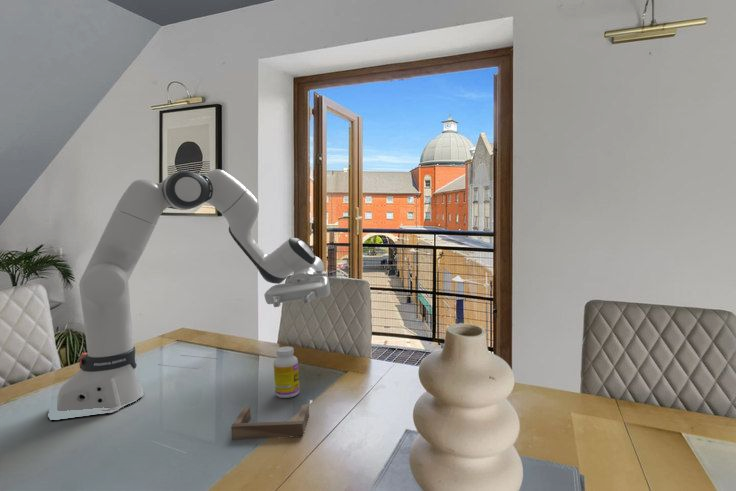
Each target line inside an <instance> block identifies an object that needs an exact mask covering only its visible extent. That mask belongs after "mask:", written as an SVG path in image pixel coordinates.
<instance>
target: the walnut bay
mask: <svg viewBox="0 0 736 491" xmlns="http://www.w3.org/2000/svg"><path fill="white" fill-rule="evenodd" d="M309 408H310V407H309V404H305V403H304V404H302V405H301V408H300V410H299V413H298V416H297V419H296V420H289V421H265V422H263V421H262V422H260V421H259V422H250V421H251V419H252V418H251V417H252V416H251V407H250V406H243V407H242V409H241V410H240V413H238V416H237V417H236V419H235V420H234V421H233V423H232V424H231V426H230V429H231V430H230V431H231V432H230V433H231V440H251V439H255V440H256V439H278V437H285V438H291V437H290V436H303V437H304V435H305V432H304V431H306V429H305V428H307V425H308V422H307V421H309V419H308V418H310V409H309ZM303 434H304V435H303Z"/></svg>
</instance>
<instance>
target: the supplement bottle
mask: <svg viewBox="0 0 736 491" xmlns="http://www.w3.org/2000/svg"><path fill="white" fill-rule="evenodd" d="M294 353H295V350H294V347H293V346H281V347H277V349H276V356H277V357H276V358H274V359H273V372H274V392H275V396H276V397H278V398H280V399H289V398H293V397H296V396H297V395H298V394H299V393H300V376H299V360H298V359H299V358H297V356H295V355H294Z"/></svg>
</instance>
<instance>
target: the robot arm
mask: <svg viewBox="0 0 736 491" xmlns="http://www.w3.org/2000/svg"><path fill="white" fill-rule="evenodd" d="M204 203H206V204H209V205H210V206H212V207H214V208H215V209H216V210H217V211H218V212H219V213H220V214H221V215H222V216H223V217H224V218H225V219H226V221H227V222H228V232H229V235H230V236H231V238H232V239H233V240H234V242H235V244H237V246H238V247H239V248H240V250H241V251H242V252H243V253H244V254H245V255H246V256H247V258H248V259H249V260H250V262H252V264H253V265H254V266H255V268H256V269H257V270H258V272H259V274H260V275H261V277H262V278H263V279H264V280H265V282H267V283H271V284H275V285H272V286H271V287H270V288H268V290H266V291H265V293H264V294H263V296H264V300H265V302H266V304H268V305H273V307H274V308H279V307H280V306H281V304H284V303H290V302H298V301H299V302H300V301H303V303H304V304H310V302H312V301H313V300H315V299H321V298H322V299H323V298H327V297H329V296H330V294H331V284H330V280H329V279H330V278H329V276H328V272H327V271H325V264H324V262H323V260H322V259H321V258H320V257H318V256H316V254H315V251H314V250H313V248H312V247H311V246H310V244H308V243H307V241H305V240H303V239H301V238H299V237H298V238H297V237H290V238H288V239H287V240H286V241H284V242H283V243H282V244H280V245H279V247H277V248H276V249H274V250H273V251H272V252H271V253H270V254H268V253H266V252H264V250H263V249H262V248H261V247H260V245H259V244H258V243H257V241H256V240H255V239H254V238H253V236H252V233H251V232H252V231H251V230H252V229H253V227H254V225H255V222H256V220H257V218H258V215H259V211H260V206H259V201H258V199H257V198H256V197H255V195H254V194H253V193H252V192H251V191H250V189H248V188H247V187H246V186H245V184H243V183H241V182H240V180H238V179H236V178H235V177H234V176H232V175H231V174H230V173H228V172H227V171H225V170H222V169H220V168H218V169H217V168H216V169H213V170H210V171H209V172H207V173H206V174H200V173H197V172H193V171H188V170H182V171H177V172H174V173H172V174H170V175H169V176H167V177H166V178H165V179H163V180H161V182H158V183H157V182H154V181H152V180H148V179H136V180H134V181H133V182H131V184H130V185H129V186H128V187H127V189H126V190H125V191H124V193H123V195H122V196H120V198H119V200H118V202H117V204H116V206H115V208H114V209H113V212H112V214H111V216H110V218H109V221H108V222H107V225H106V226H105V228H104V231H103V233H102V235H101V236H100V239H99V241H98V242H97V245H96V247H95V249H94V251H93V253H92V255H91V257H90V259H89V262H88V264H87V265H86V267H85V270H84V272H83V274H82V275H81V278H80V279H79V284H78V285H79V293H80V294H79V295H80V301H81V302H80V303H81V309H82V310H81V311H82V317H83V324H84V331H85V332H84V333H85V341H86V350H87V351H86V352H83V353H81V355H80V356H79V360H78V364H79V365H78V366H79V370H78V371H77V372H76V373H75V374H73V376H71V377H70V378H69V379H68V380H67V381H66V382H64V383H63V384H62V385H61V387H60V389H59V390H58V394H57V399H56V402H57V410H58V411H67V410H69V411H70V410H83V409H93V408H103V407H104V408H110V409H108V410H102V411H110V410H115V409H117V408H119V407H120V406H122V405H124V404H127V403H129V402H132V401H134V400H137V399H138V398H140V397H141V396H142V395H143V392H144V390H143V388H142V385H141V382H140V379H139V375H138V370H137V365H138V358H137V351H136V347H135V346H134V339H133V338H134V337H133V328H132V315H131V314H132V313H131V301H130V288H129V286H130V285H129V280H130V278H131V275H132V274H133V272H134V270H135V268H136V266H137V264H138V263H139V261H140V258H141V256H142V255H143V253H144V251H145V250H146V249H145V248H146V247H147V245H148V243H149V240H150V239H151V236H152V234H153V232H154V230H155V228H156V225H157V223H158V222H159V220H160V216H161V215H162V213H163V212H164V211H165V210H166V209H173V210H180V211H187V210H191V209H194V208H198V207H199V206H201V205H202V204H204ZM291 274H292V275H291ZM290 275H291V277H290V278H289V279H288V283H286V282H285V283H283V282H284V281H285V280H286V279H287V278H288V277H289V276H290Z"/></svg>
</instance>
